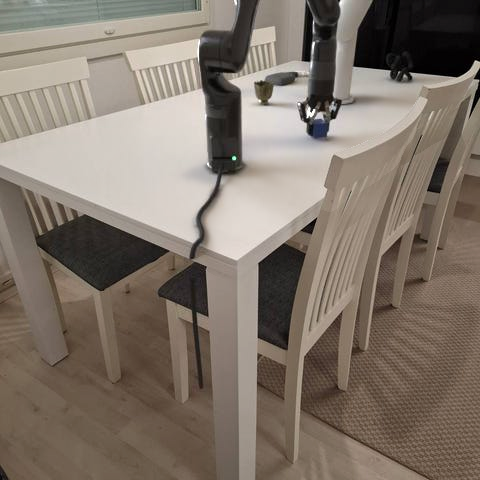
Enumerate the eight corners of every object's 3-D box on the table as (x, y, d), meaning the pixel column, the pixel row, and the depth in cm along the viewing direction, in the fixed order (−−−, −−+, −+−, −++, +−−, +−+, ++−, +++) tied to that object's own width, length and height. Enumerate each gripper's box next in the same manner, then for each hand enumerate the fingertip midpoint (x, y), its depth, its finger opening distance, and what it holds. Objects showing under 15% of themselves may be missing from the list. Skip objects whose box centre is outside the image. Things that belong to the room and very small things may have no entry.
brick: (326, 137, 135) (328, 122, 133) (314, 138, 134) (315, 124, 132) (319, 132, 139) (320, 118, 137) (307, 133, 138) (308, 119, 136)
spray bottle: (262, 82, 200) (292, 74, 216) (282, 86, 194) (312, 76, 210) (262, 76, 198) (293, 67, 214) (282, 79, 192) (312, 70, 208)
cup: (250, 105, 169) (250, 83, 165) (259, 100, 175) (259, 79, 171) (268, 107, 166) (268, 85, 162) (276, 102, 172) (277, 80, 168)
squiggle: (400, 92, 202) (376, 71, 205) (417, 76, 202) (392, 56, 205) (405, 81, 191) (380, 59, 194) (423, 64, 191) (397, 42, 194)
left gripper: (337, 71, 132) (332, 128, 141) (293, 75, 128) (290, 133, 138) (350, 76, 126) (344, 135, 135) (304, 81, 122) (301, 141, 131)
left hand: (317, 134), depth 136 cm, fingers closed on brick, 4 cm apart
